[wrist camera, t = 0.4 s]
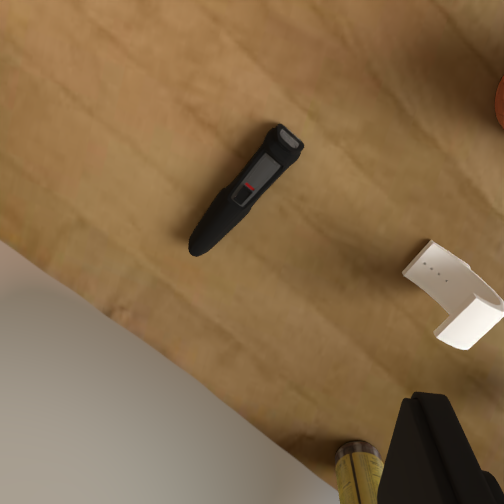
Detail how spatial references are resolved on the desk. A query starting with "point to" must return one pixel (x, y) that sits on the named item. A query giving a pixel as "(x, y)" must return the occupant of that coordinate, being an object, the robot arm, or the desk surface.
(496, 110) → the terracotta cup
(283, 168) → the electric trimmer
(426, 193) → the desk surface
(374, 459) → the sauce bottle
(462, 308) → the headphone stand
